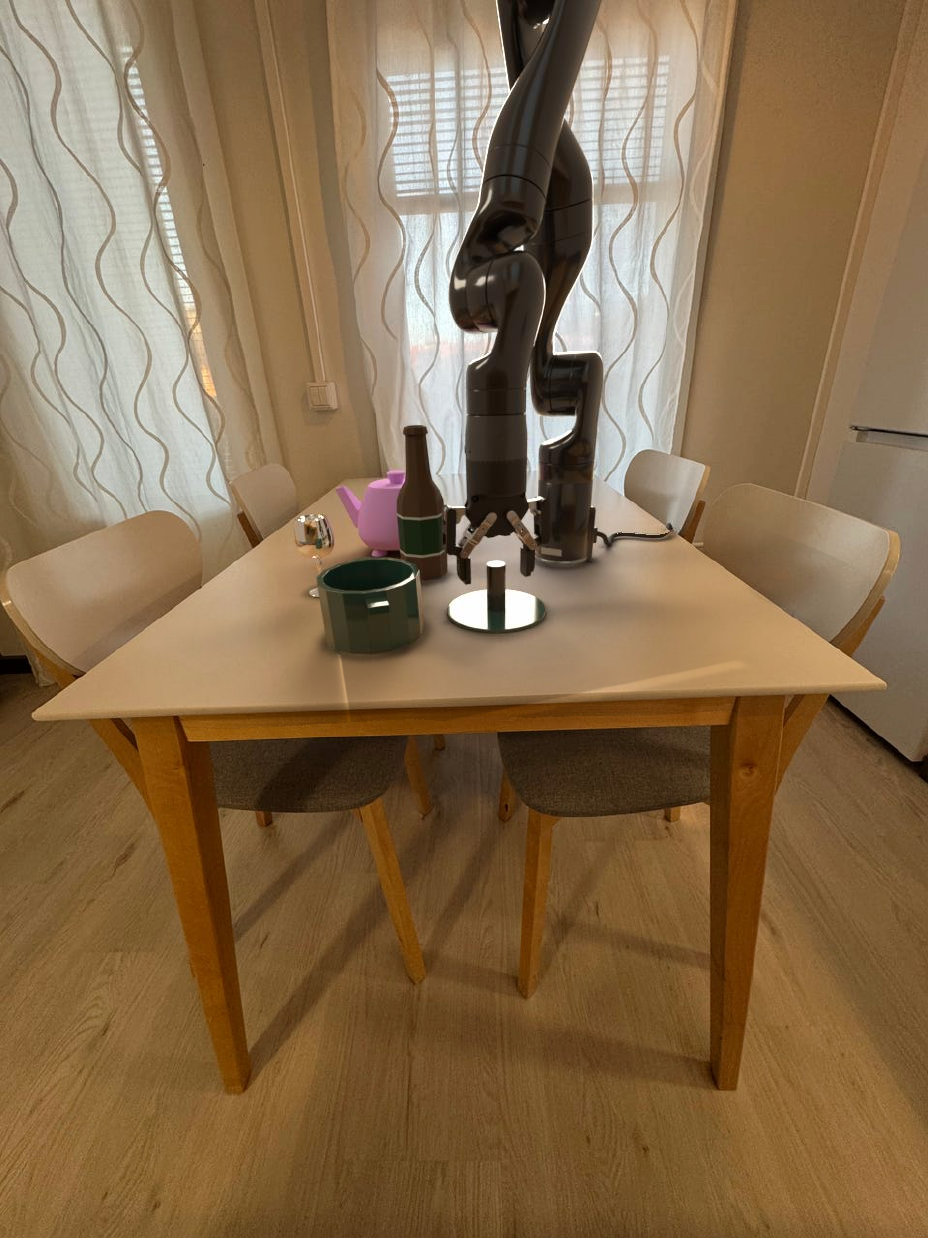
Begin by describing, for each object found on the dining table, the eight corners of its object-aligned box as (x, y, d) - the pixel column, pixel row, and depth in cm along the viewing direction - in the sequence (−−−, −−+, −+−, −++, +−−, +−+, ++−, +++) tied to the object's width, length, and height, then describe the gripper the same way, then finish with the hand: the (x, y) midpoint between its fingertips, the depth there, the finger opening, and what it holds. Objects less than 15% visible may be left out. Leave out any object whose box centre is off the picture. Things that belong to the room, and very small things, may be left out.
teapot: (363, 532, 112) (354, 462, 105) (451, 532, 109) (448, 461, 102) (329, 561, 94) (317, 479, 88) (434, 562, 91) (429, 478, 85)
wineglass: (332, 599, 77) (320, 523, 72) (298, 597, 79) (283, 522, 73) (347, 585, 82) (337, 513, 77) (315, 584, 84) (303, 512, 78)
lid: (522, 590, 78) (523, 543, 75) (562, 627, 66) (565, 573, 63) (437, 603, 75) (434, 554, 71) (463, 644, 63) (461, 588, 60)
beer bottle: (457, 574, 86) (451, 424, 75) (424, 587, 81) (412, 428, 70) (426, 564, 90) (416, 422, 80) (393, 576, 85) (378, 427, 75)
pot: (409, 601, 76) (404, 547, 72) (438, 657, 60) (433, 592, 56) (324, 614, 73) (314, 558, 69) (330, 676, 57) (319, 609, 53)
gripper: (448, 461, 56) (453, 595, 63) (563, 453, 60) (556, 581, 66) (432, 454, 62) (438, 576, 69) (537, 447, 66) (533, 564, 73)
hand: (496, 578), depth 68 cm, fingers open, 8 cm apart
